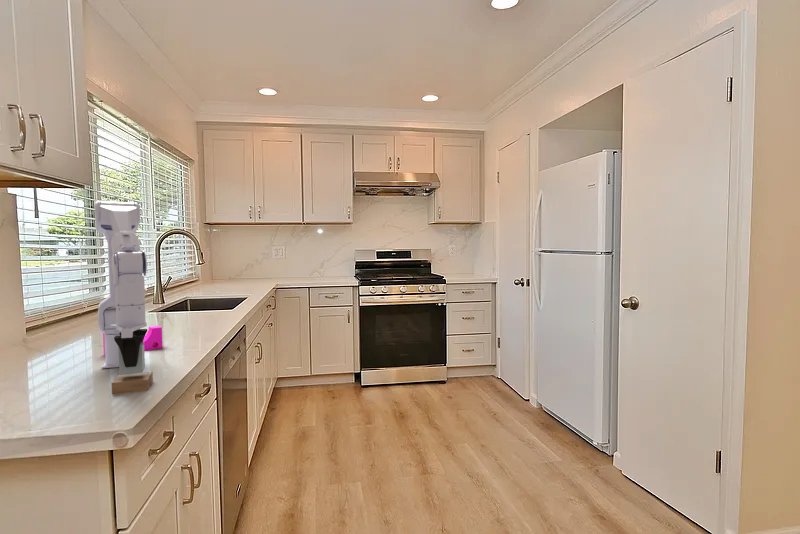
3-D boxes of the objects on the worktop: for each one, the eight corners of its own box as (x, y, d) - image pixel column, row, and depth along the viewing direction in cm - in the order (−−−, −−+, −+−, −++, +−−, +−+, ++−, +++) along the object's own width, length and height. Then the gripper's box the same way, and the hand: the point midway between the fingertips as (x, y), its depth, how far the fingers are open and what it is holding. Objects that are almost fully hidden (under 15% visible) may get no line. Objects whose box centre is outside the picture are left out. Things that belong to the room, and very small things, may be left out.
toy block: (156, 347, 147) (155, 324, 147) (162, 351, 143) (161, 327, 142) (102, 355, 137) (101, 331, 137) (106, 359, 132) (105, 333, 132)
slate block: (122, 370, 105) (121, 344, 105) (144, 367, 107) (144, 342, 107) (119, 375, 101) (118, 348, 101) (142, 372, 103) (141, 346, 102)
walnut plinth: (119, 387, 106) (118, 374, 106) (153, 384, 109) (152, 371, 109) (111, 396, 100) (111, 382, 100) (148, 392, 102) (147, 379, 102)
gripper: (115, 301, 108) (117, 358, 109) (103, 309, 95) (105, 374, 96) (149, 300, 111) (150, 355, 112) (142, 307, 98) (144, 370, 98)
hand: (132, 363), depth 104 cm, fingers closed on slate block, 4 cm apart
